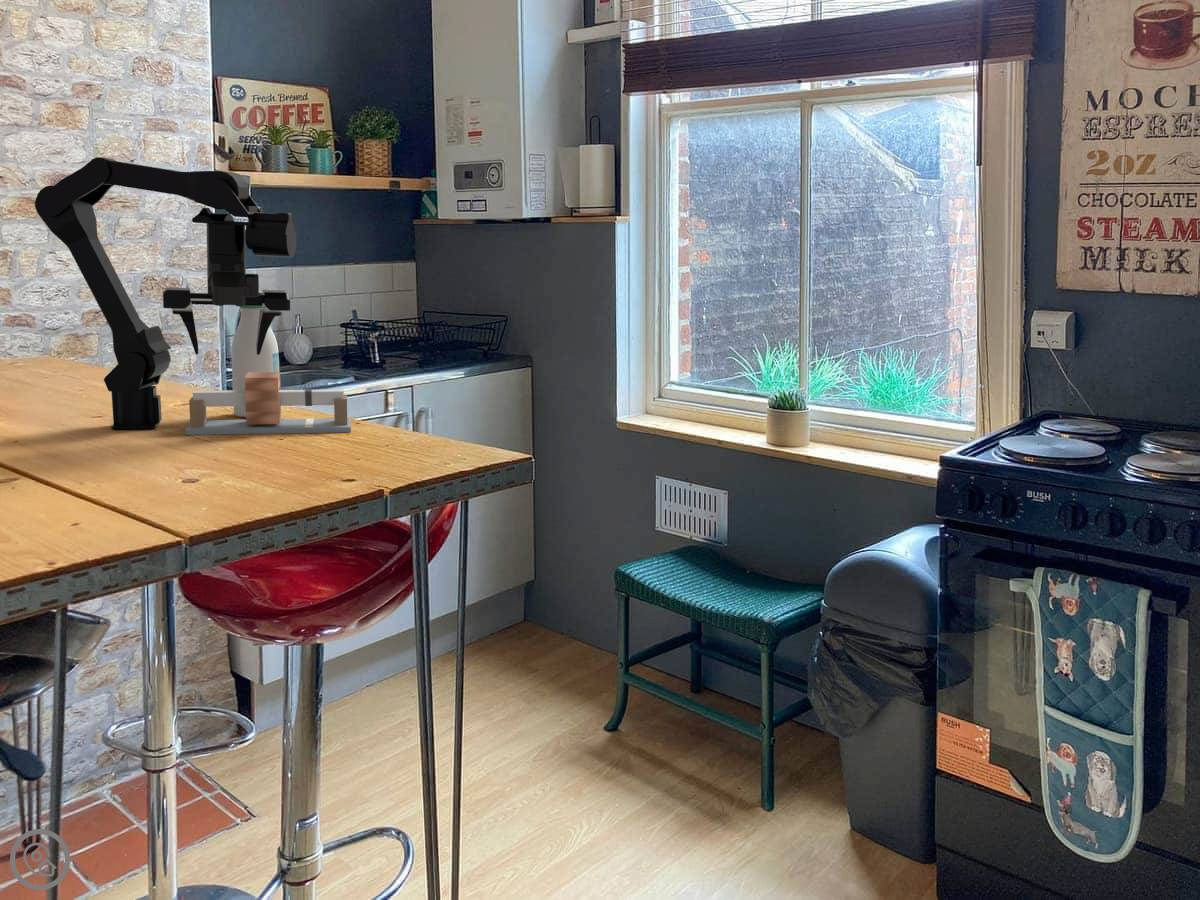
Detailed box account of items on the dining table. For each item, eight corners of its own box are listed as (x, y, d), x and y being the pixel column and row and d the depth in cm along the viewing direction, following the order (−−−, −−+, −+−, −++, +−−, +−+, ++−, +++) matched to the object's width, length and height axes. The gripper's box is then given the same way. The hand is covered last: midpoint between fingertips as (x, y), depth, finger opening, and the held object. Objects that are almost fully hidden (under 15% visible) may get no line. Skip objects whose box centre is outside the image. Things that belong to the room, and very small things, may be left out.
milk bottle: (267, 420, 190) (263, 299, 186) (225, 417, 192) (220, 297, 188) (288, 412, 198) (285, 296, 194) (247, 410, 199) (243, 294, 195)
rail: (185, 434, 177) (183, 395, 175) (192, 425, 184) (190, 387, 183) (350, 432, 182) (349, 393, 181) (350, 423, 190) (349, 386, 188)
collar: (246, 424, 179) (244, 377, 178) (249, 417, 185) (247, 372, 183) (279, 424, 180) (277, 377, 179) (281, 417, 186) (279, 372, 184)
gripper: (161, 254, 166) (164, 361, 169) (293, 259, 173) (294, 361, 176) (161, 251, 176) (164, 351, 179) (286, 255, 183) (286, 352, 186)
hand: (227, 354), depth 180 cm, fingers open, 9 cm apart
